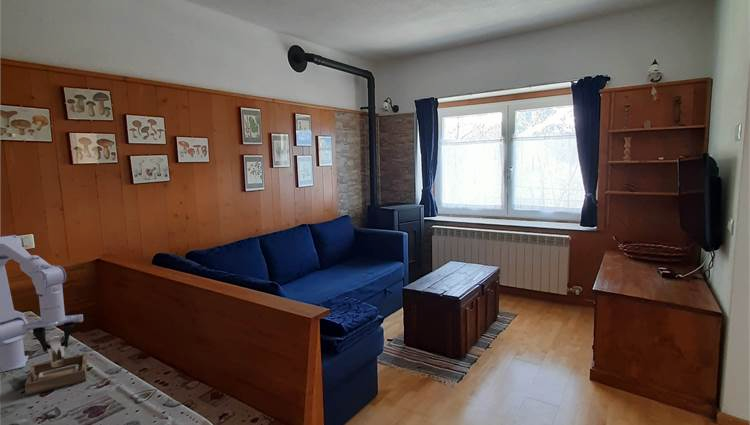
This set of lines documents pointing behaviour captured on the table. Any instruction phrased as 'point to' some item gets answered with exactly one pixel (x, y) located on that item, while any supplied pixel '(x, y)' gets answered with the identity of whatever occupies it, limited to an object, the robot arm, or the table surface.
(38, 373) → the socket box
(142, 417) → the table surface
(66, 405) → the table surface
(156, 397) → the table surface
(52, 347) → the milkshake
